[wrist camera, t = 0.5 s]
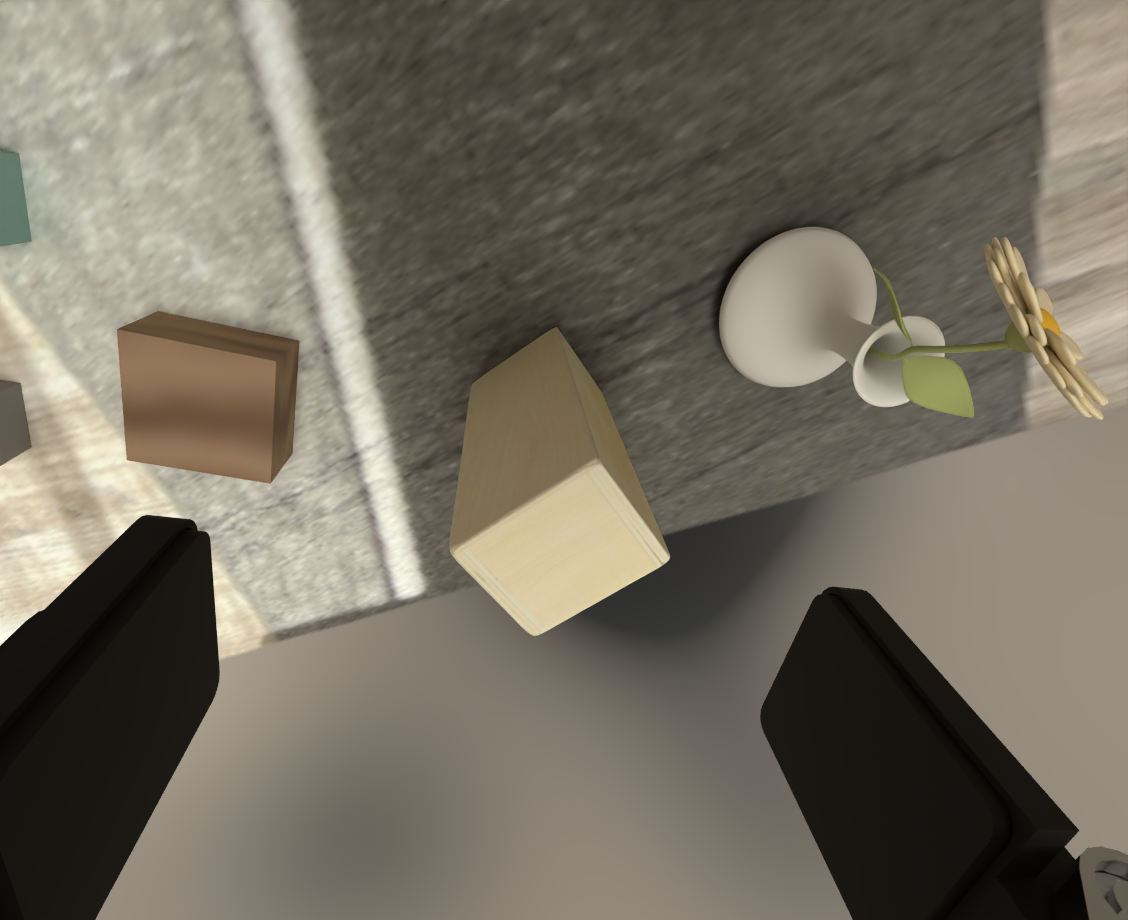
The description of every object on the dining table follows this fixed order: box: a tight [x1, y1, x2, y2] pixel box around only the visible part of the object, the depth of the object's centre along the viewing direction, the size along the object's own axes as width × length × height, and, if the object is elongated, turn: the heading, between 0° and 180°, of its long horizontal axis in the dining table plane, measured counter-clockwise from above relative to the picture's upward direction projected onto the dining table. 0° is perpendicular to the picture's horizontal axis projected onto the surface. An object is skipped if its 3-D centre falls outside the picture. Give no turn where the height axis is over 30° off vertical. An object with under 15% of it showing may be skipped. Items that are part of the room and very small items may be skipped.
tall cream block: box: [450, 327, 670, 636], centre depth 35 cm, size 8×7×21 cm
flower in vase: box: [719, 227, 1108, 419], centre depth 32 cm, size 13×11×25 cm
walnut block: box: [117, 311, 299, 483], centre depth 40 cm, size 9×9×5 cm
